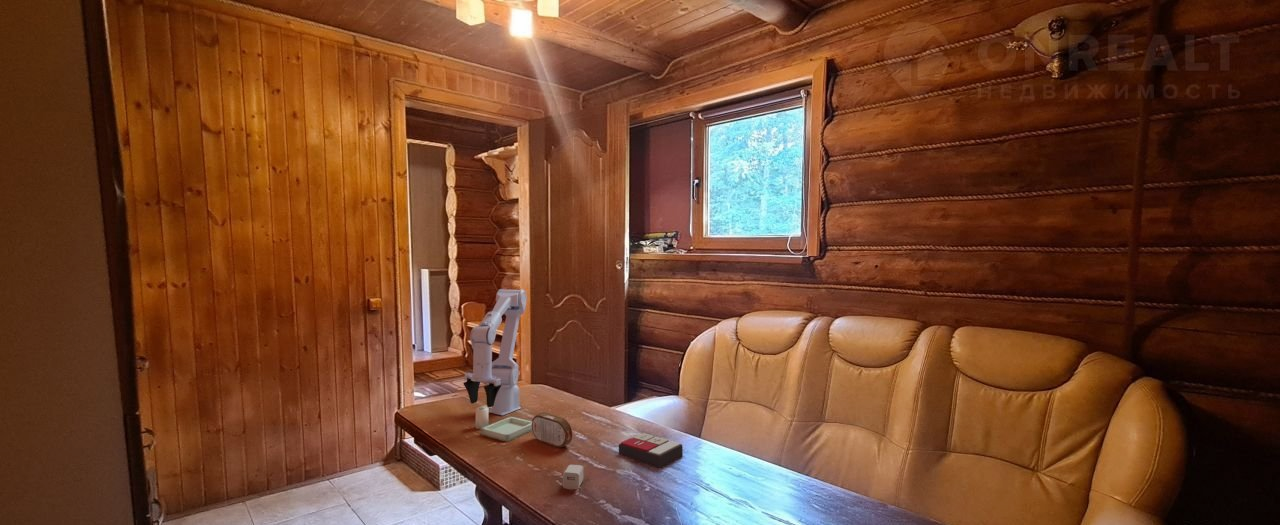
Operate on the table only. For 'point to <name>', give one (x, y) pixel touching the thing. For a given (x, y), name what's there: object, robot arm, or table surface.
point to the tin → (552, 429)
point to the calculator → (651, 450)
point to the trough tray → (507, 429)
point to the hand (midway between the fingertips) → (482, 404)
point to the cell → (482, 417)
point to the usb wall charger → (573, 476)
